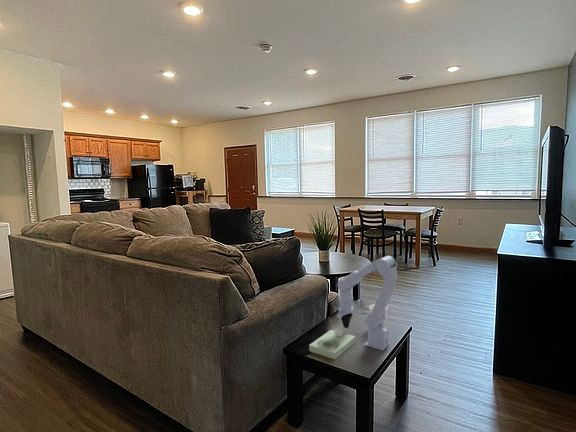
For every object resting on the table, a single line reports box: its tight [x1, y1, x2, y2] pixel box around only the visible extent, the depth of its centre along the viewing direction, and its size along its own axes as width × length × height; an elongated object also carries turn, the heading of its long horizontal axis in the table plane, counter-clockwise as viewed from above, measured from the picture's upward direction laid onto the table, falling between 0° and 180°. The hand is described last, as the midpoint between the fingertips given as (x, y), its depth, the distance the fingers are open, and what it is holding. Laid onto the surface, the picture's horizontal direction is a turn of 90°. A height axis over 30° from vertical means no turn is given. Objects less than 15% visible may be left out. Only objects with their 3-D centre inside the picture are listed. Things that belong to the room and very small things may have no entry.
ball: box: [334, 327, 344, 337], centre depth 168 cm, size 4×4×4 cm
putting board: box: [308, 329, 357, 360], centre depth 164 cm, size 14×20×3 cm
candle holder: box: [368, 303, 389, 330], centre depth 181 cm, size 10×10×12 cm
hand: (346, 327), depth 174 cm, fingers closed
